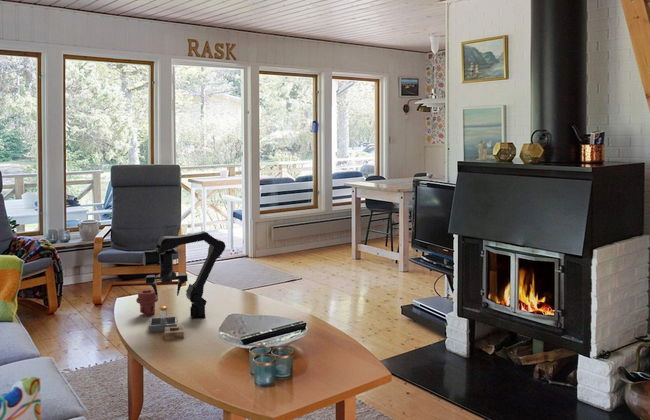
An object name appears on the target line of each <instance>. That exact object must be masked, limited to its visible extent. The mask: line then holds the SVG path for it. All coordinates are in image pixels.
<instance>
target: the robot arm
mask: <svg viewBox="0 0 650 420" xmlns="http://www.w3.org/2000/svg"><path fill="white" fill-rule="evenodd" d="M203 241H204V242H205V243H206V244H208V245H209V246H208V250H207V257H206V258H205V260H204V263H203V264H202V267H201V268H200V271H199V274H197V277H196V279H195V281H194V282H193V284H191V283H189V284H188V287H187V289H186V290H185V292H186V293H185V295H186V296H185V297H186V298H187V299H188V301H190V303H191V306H189V307H190V308H189V309H190V310H189V311H190V313H189V314H190V317H191V319H204V318H206V304H207V301H208V300H206V299H205V298H203V294H204V290H205V289H204V287H205V284H206V282H207V281H208V278H209V277H210V274H211V271H212V269H213V267H214V265H215V263H216V261H217V259H219V257H220V256H221V255H222V254H223V253H224V251H225V249H226V247H227V246H226V244H225V242H224V241H222V240H221V239H218V238H215V237H214V236H212V235H210V233H208V232H207V231H205V230H204V231H202V230H201V231H200V232H195V233H190V234H189V233H188V234H184V235H183V234H182V235H178V236H176V235H175V236H174V235H164V236H161V237H160V238H159V239H158V243H157V245H156V246H155V248H154V250H144V251H143V256H142V264H143V266H144V267H147V266H149V267H150V266H157V265H158V264H159V268H160V271H159V276H156V275H155V274H149V275H146V277H145V284H146V285H149V286H151V287H152V288H153V289H152V290H154V291H155V294H156V296H157V297H159V293H158V286H157V285H158V284H157V282H159V281H160V282H161V283H162V284H166V283H169V284H171V283H172V282H173V281H174V280H175V281H176V280H177V291H176V296H177V297H178V296H179V294H180V290H181V288H182V285H183V284H185V283H186V282H188V281H189V280H188V273H186V272H184V273H178V275H177V271H174V263H173V262H174V261H173V260H174V259H173V258H174V257H173V255H177V254H178V252H177V251H175V249H176V248H177V247H179V246H183V245H187V244H193V243H196V242H197V243H198V242H203Z"/></svg>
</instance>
